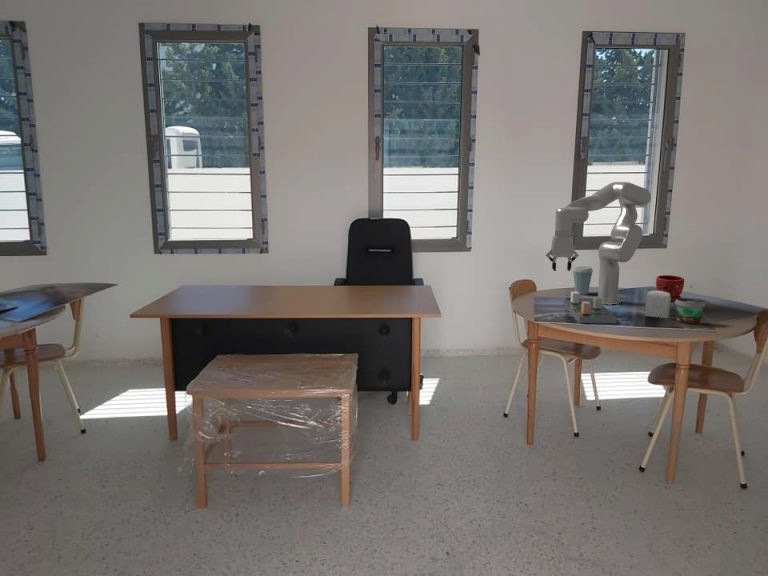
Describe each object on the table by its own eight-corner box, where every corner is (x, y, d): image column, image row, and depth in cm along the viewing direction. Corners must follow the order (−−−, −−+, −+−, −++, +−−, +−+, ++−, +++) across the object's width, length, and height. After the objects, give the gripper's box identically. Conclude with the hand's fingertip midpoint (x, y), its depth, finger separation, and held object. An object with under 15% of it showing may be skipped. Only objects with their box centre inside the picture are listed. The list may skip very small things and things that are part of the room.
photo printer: (669, 317, 264) (671, 291, 262) (668, 319, 261) (670, 292, 258) (645, 314, 270) (647, 289, 268) (644, 316, 267) (645, 290, 264)
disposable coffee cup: (575, 295, 313) (576, 268, 310) (568, 291, 324) (569, 265, 321) (594, 295, 313) (596, 268, 310) (587, 291, 324) (588, 265, 321)
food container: (674, 323, 253) (676, 301, 251) (673, 320, 259) (674, 298, 257) (706, 325, 249) (708, 303, 247) (703, 322, 254) (705, 300, 252)
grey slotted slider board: (596, 306, 288) (596, 300, 288) (616, 323, 255) (616, 317, 254) (563, 306, 290) (563, 300, 289) (579, 323, 257) (579, 316, 256)
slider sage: (599, 306, 273) (599, 296, 272) (601, 308, 269) (602, 298, 268) (592, 306, 274) (593, 296, 273) (595, 308, 269) (595, 298, 268)
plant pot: (649, 298, 303) (650, 276, 300) (666, 296, 308) (667, 274, 306) (671, 303, 291) (673, 280, 289) (688, 300, 297) (690, 277, 294)
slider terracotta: (587, 311, 263) (588, 301, 262) (590, 314, 259) (590, 303, 258) (581, 311, 264) (581, 301, 263) (583, 314, 259) (584, 303, 258)
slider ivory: (576, 301, 285) (577, 291, 284) (578, 303, 280) (579, 293, 279) (570, 301, 285) (571, 291, 284) (572, 303, 281) (573, 293, 280)
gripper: (579, 233, 280) (577, 269, 283) (543, 233, 281) (542, 269, 285) (583, 234, 272) (581, 271, 276) (546, 235, 274) (544, 271, 278)
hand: (561, 270), depth 280 cm, fingers open, 6 cm apart
